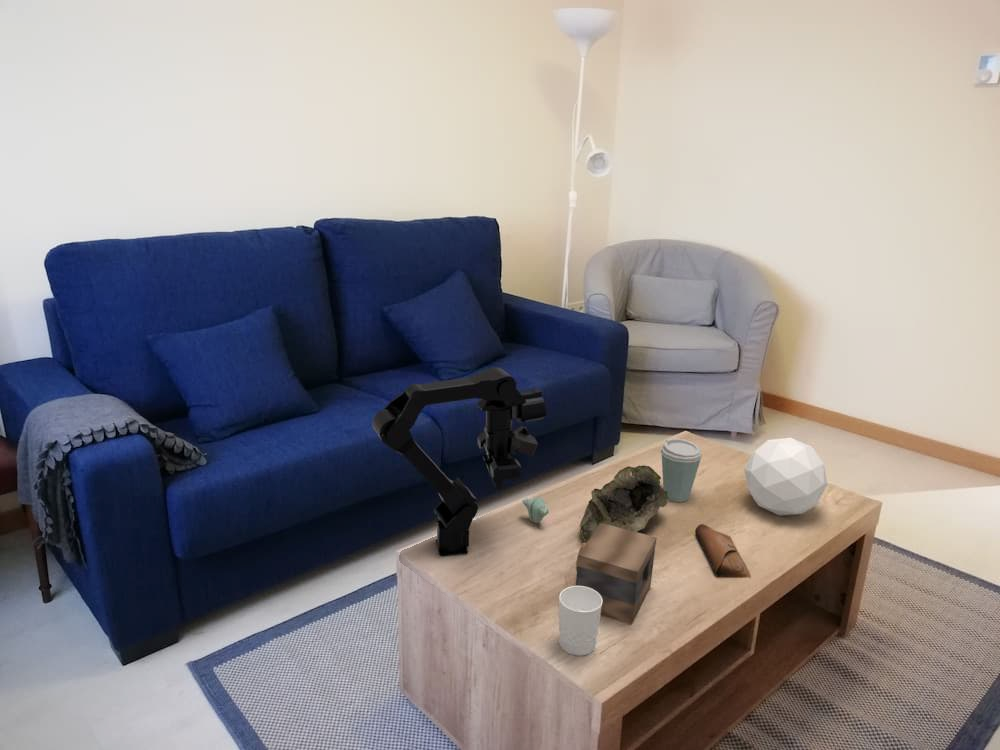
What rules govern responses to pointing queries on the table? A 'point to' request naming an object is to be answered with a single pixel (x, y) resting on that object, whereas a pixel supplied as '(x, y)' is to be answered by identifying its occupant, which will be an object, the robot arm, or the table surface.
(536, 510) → the pale green bulging piece
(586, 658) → the table surface
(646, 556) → the walnut block
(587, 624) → the white cup
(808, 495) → the geometric sphere
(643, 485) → the hollow geode rock
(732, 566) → the sunglasses case
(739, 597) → the table surface
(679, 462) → the disposable coffee cup
